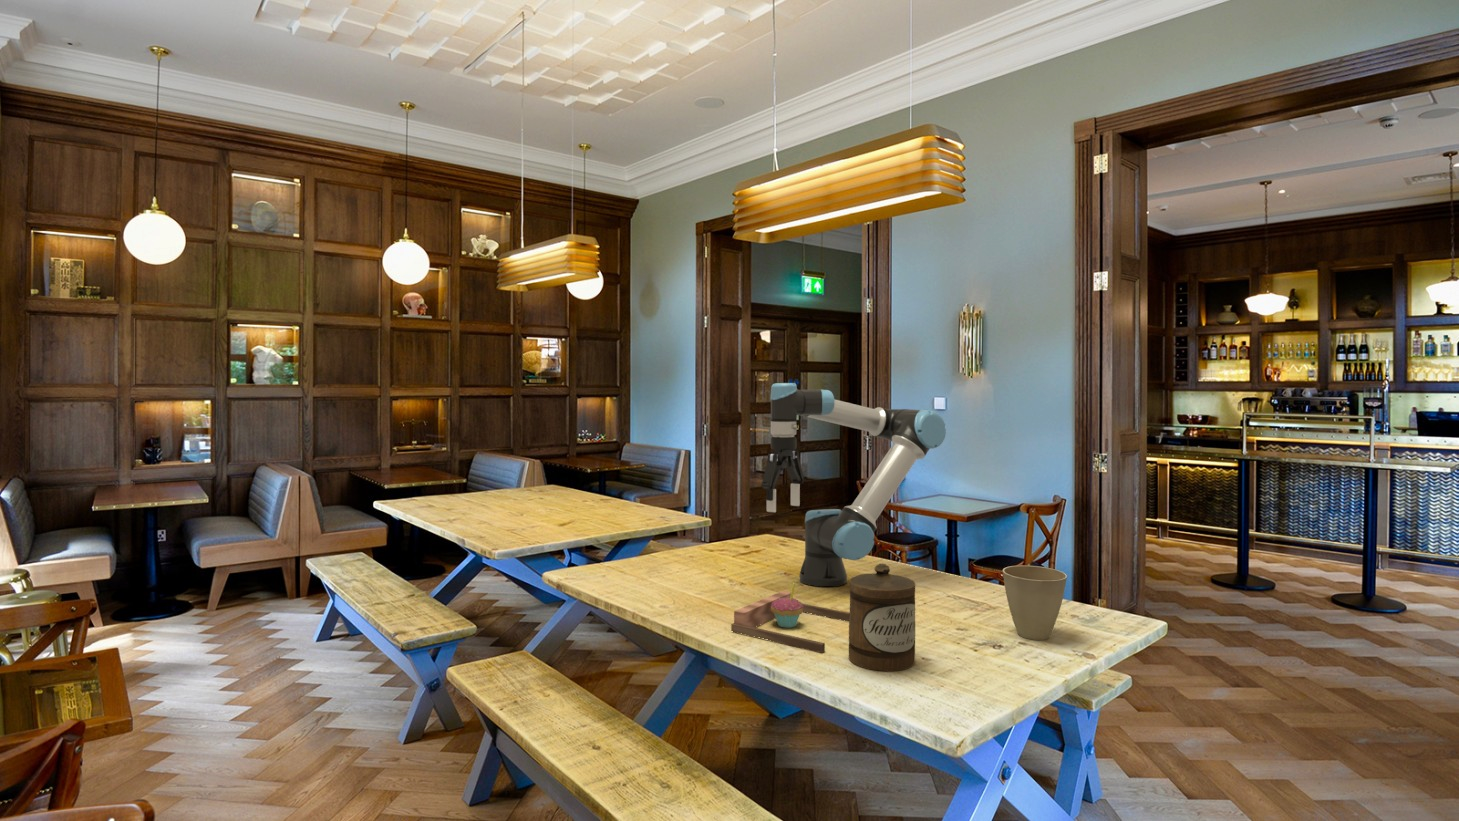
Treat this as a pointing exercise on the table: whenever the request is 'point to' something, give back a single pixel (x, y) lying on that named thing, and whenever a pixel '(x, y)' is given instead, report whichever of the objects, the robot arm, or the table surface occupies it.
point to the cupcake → (787, 610)
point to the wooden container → (882, 621)
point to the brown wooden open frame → (762, 613)
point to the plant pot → (1034, 599)
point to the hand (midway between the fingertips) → (783, 508)
